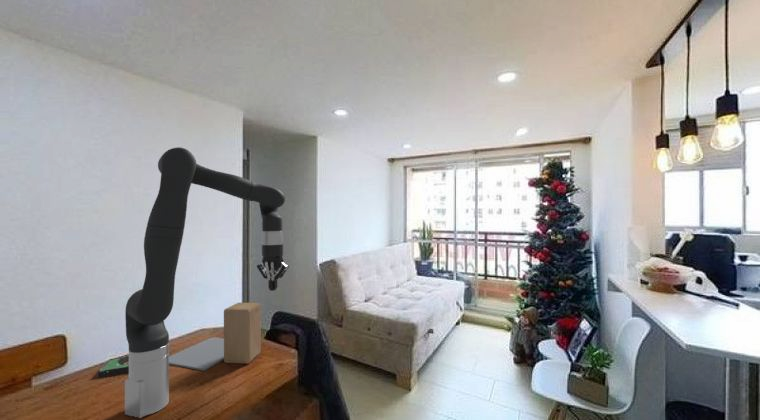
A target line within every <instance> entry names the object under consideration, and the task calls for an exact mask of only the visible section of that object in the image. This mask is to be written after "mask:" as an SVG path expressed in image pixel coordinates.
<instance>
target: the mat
mask: <svg viewBox="0 0 760 420" xmlns="http://www.w3.org/2000/svg"><path fill="white" fill-rule="evenodd" d="M223 361H224V338H223V337H214V336H213V337H210V338H207V339H204V340H203V341H201V342H198V343H196V344H194V345H192V346H190V347H187V348H185V349H183V350H180V351H178V352H176V353H173V354H172V355H169V366H176V367H180V368H181V367H182V368H187V369H192V370H198V371H203V372H205V371H206V370H208V369H210V368H212V367H214V366H215V365H217V364H219V363H222V362H223Z"/></svg>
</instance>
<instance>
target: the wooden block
mask: <svg viewBox="0 0 760 420" xmlns="http://www.w3.org/2000/svg"><path fill="white" fill-rule="evenodd" d="M261 329H262V328H261V303H259V302H237V303H234V304H233V305H231V306H229V307H227V308H225V309H224V310H223V339H224V360H223V361H224V363H225V364H246V365H247V364H250V363H251V362H252V361H253V360H255V358H257V357H258V355H260V354H261V352H262V344H261V342H262V341H261V340H262V339H261V338H262V337H261V335H262V334H261V332H262V331H261Z"/></svg>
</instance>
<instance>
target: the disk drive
mask: <svg viewBox="0 0 760 420" xmlns="http://www.w3.org/2000/svg"><path fill="white" fill-rule="evenodd" d="M122 374H129V355H128V356H123V357H116V358H110V359H109V360H107V362H106V363H104V364H103V366H102V367H101V368H99V369H98V370H97V373H96V375H97V376H96V377H97V379H99V378H105V377H111V376H117V375H122Z"/></svg>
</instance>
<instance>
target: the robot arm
mask: <svg viewBox="0 0 760 420" xmlns="http://www.w3.org/2000/svg"><path fill="white" fill-rule="evenodd" d="M157 168H158V170H159V173H160V181H159V182H160V183H159V190H158V193H157V197H156V199H155V200H154V204H153V206H152V208H151V211H150V213H149V217H148V220H147V224H146V228H145V234H144V238H143V254H144V260H145V261H144V263H145V278H144V283H143V285H142V289H141V288H140V289H138V290H137V291H135V292H134V293H132V295H131V296H130V297H129V298H128V299H127V302H126V303H125V304H126V305H125V316H124V317H125V336H126V337H125V338H126V340H127V342H128V343H127V344H128V356H129V373H128V378H126V379H125V380H124V415H126V416H129V417H133V416H134V418H137V417H138V418H137V419H142V418H144V417H146V416H150V415H152V414H155V413H156V412H160V411H161V410H162V409H164V408H165V407H167V405H168V404H169V402H170V364H169V356H170V350H169V349H170V340H169V339H170V337H169V336H170V334H169V332H168V330H167V328H166V325H165V320H166V319H167V318H168V317H169V315H171V312H172V310H173V308H174V300H175V298H174V297H175V281H176V280H175V279H176V272H177V269H178V263H179V259H180V258H179V256H180V252H181V251H180V250H181V246H182V244H183V238H184V237H183V236H184V233H185V232H184V231H185V224H186V218H187V217H186V216H187V209H188V207H187V206H188V197H189V193H190V190H191V185H192V184H193V185H197V186H201V187H205V188H209V189H212V190H215V191H217V192H218V191H219V192H221V193H224V194H227V195H230V196H232V197H236V198H239V199H241V200H245V201H248V202H255V203H259V211H260V215H261V219H262V222H261V223H262V227H261V228H262V229H261V230H262V232H261V256H262V261H261V262H260V263H259V264H257V265H256V268H257V269H258V271H259V272H260V274H261V276H262V277H263V279H267V281H268V285H267V286H268V289H269V291H270V292H271V291H276V290H277V289H278V279H282V278H283V276H284V275H285V274H286V272H287V271H288V269H289V268H290V266H289V264H286V263H285V262H284V258H283V256H284V234H283V219H282V218H283V217H282V216H281V215H279V208H280V207H282V206H284V203H285V201H286V197H285V195H284V193H283V192H282V191H281V190H280V189H278V188H277V187H272V186H269V185H264V184H260V183H257V182H254V181H252V180H250V179H246V178H244V177H242V176H239V175H235V174H232V173H226V172H223V171H222V172H221V171H217V170H215V169H210V168H208V167H205V166H202V165H200V164H199V163H197V160H196V158H195V156H194V154H193V152H192V151H190V150H188V149H186V148H184V147H180V146H179V147H172V148H170V149H167V150H166V151H164V152H163V154H161V156H160V157H159V159H158V162H157Z"/></svg>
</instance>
